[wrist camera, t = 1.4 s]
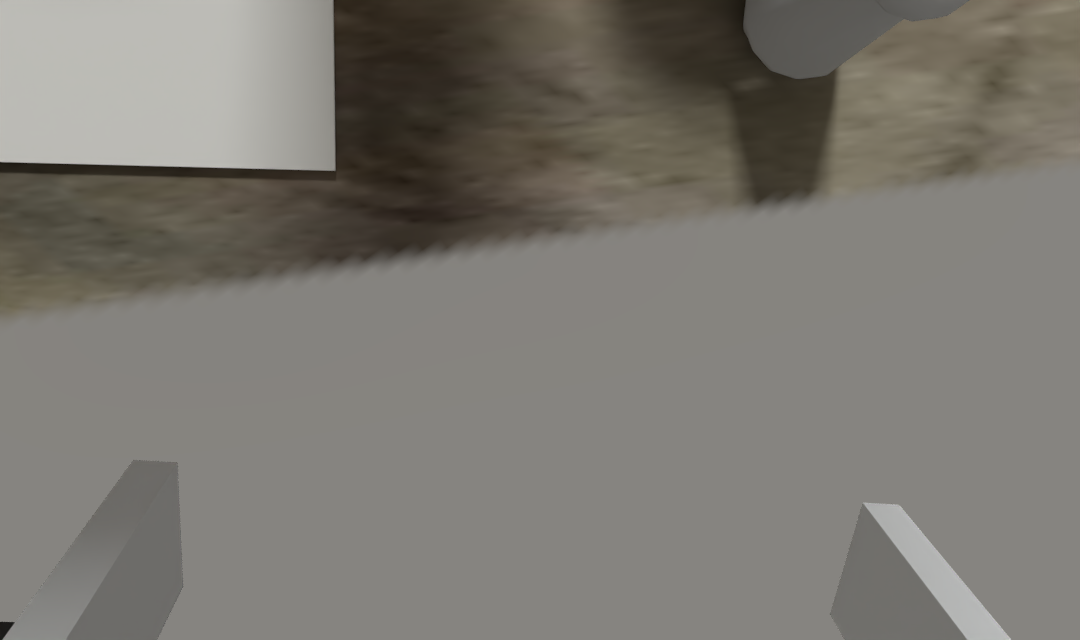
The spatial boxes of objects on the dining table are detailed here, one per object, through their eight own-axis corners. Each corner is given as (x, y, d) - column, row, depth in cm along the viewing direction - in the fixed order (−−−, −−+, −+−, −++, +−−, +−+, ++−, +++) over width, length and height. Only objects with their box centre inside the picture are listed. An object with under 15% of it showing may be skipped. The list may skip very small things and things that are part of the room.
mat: (-199, 157, 35) (-206, 156, 35) (-231, -173, 34) (-239, -178, 33) (335, 170, 39) (334, 170, 38) (332, -129, 37) (331, -133, 37)
